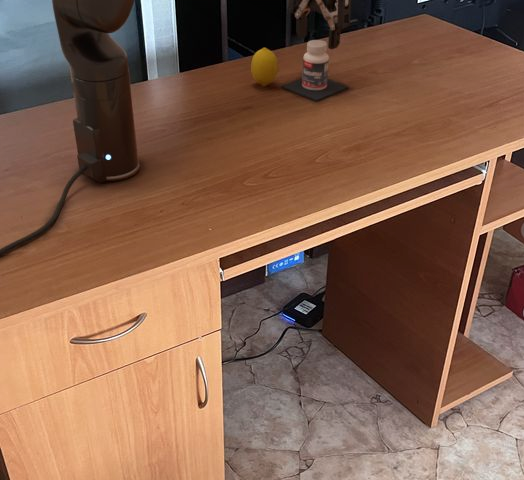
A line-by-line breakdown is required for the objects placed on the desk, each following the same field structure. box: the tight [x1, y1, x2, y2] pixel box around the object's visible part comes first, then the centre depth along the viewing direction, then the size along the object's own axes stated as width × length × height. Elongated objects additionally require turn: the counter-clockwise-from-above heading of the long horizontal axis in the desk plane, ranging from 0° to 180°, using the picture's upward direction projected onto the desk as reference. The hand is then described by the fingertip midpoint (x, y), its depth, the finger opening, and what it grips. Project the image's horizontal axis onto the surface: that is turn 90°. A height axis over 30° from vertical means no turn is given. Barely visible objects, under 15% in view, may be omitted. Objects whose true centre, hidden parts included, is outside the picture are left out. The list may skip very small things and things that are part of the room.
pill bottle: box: [301, 39, 330, 91], centre depth 161 cm, size 5×5×9 cm
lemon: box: [250, 47, 279, 87], centre depth 162 cm, size 6×6×8 cm
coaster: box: [280, 77, 350, 103], centre depth 164 cm, size 10×10×1 cm
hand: (317, 42), depth 158 cm, fingers open, 8 cm apart
